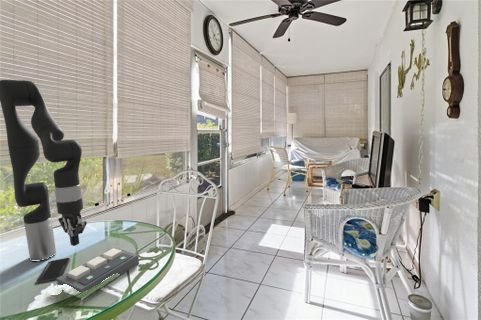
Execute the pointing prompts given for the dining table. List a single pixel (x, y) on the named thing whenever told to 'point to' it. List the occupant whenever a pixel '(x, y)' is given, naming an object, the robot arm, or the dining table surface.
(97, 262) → the key
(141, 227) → the dining table surface
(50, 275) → the phone
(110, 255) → the key
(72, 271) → the key
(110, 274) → the keypad
